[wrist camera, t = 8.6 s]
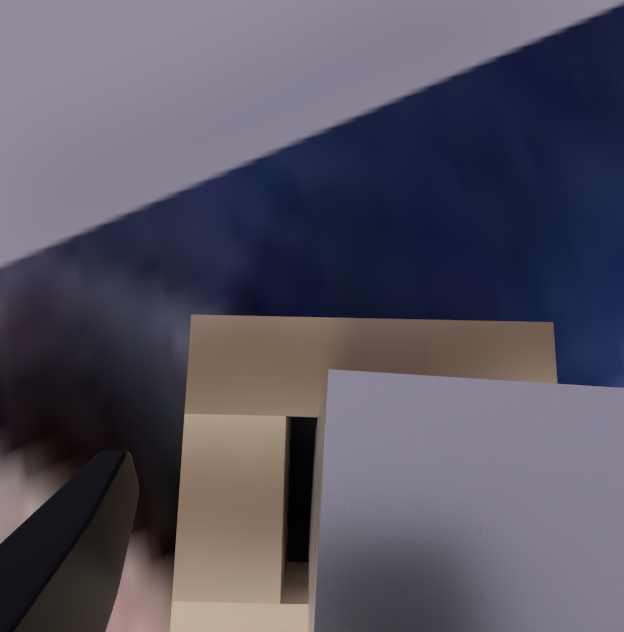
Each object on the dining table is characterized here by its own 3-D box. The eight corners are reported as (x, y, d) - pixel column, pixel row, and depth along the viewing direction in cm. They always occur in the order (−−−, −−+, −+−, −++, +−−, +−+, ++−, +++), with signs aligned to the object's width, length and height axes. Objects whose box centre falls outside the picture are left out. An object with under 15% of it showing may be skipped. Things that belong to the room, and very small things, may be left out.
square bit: (407, 539, 17) (687, 768, 4) (309, 532, 17) (307, 742, 4) (409, 437, 18) (647, 388, 5) (315, 431, 18) (328, 369, 5)
